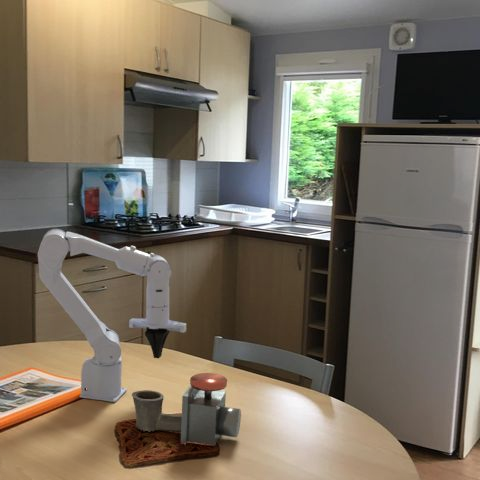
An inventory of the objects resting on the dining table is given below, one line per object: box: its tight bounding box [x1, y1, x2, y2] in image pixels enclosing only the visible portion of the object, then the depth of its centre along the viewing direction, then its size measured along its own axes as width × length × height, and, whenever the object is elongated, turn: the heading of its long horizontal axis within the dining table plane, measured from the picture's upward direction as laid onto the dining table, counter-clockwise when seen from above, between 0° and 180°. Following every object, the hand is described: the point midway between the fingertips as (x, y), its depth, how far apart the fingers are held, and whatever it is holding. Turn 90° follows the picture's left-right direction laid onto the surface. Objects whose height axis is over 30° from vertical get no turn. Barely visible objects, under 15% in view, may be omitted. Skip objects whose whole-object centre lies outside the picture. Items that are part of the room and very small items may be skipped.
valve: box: [180, 372, 242, 445], centre depth 136 cm, size 12×11×13 cm
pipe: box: [131, 389, 182, 433], centre depth 138 cm, size 6×13×8 cm, turn 79°
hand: (157, 356), depth 158 cm, fingers closed
